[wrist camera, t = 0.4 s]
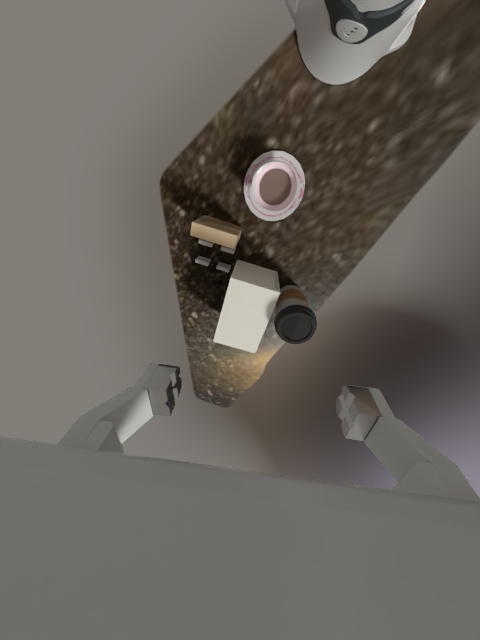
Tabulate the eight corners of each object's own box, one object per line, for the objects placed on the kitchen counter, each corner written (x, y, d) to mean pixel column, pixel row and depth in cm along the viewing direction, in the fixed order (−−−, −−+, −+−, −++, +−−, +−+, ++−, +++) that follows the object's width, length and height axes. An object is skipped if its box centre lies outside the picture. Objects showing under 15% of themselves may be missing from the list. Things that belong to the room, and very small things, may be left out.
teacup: (314, 159, 41) (321, 155, 36) (292, 226, 48) (296, 232, 42) (251, 143, 41) (249, 137, 36) (238, 213, 47) (234, 217, 42)
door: (205, 211, 48) (192, 217, 39) (243, 223, 48) (238, 231, 40) (203, 226, 49) (189, 235, 41) (239, 238, 50) (234, 249, 41)
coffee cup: (268, 306, 58) (269, 340, 45) (278, 276, 54) (281, 305, 41) (299, 313, 58) (309, 349, 45) (311, 284, 54) (325, 315, 41)
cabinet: (202, 236, 50) (186, 250, 40) (281, 261, 52) (285, 280, 41) (190, 305, 60) (174, 330, 50) (256, 325, 61) (255, 353, 51)
